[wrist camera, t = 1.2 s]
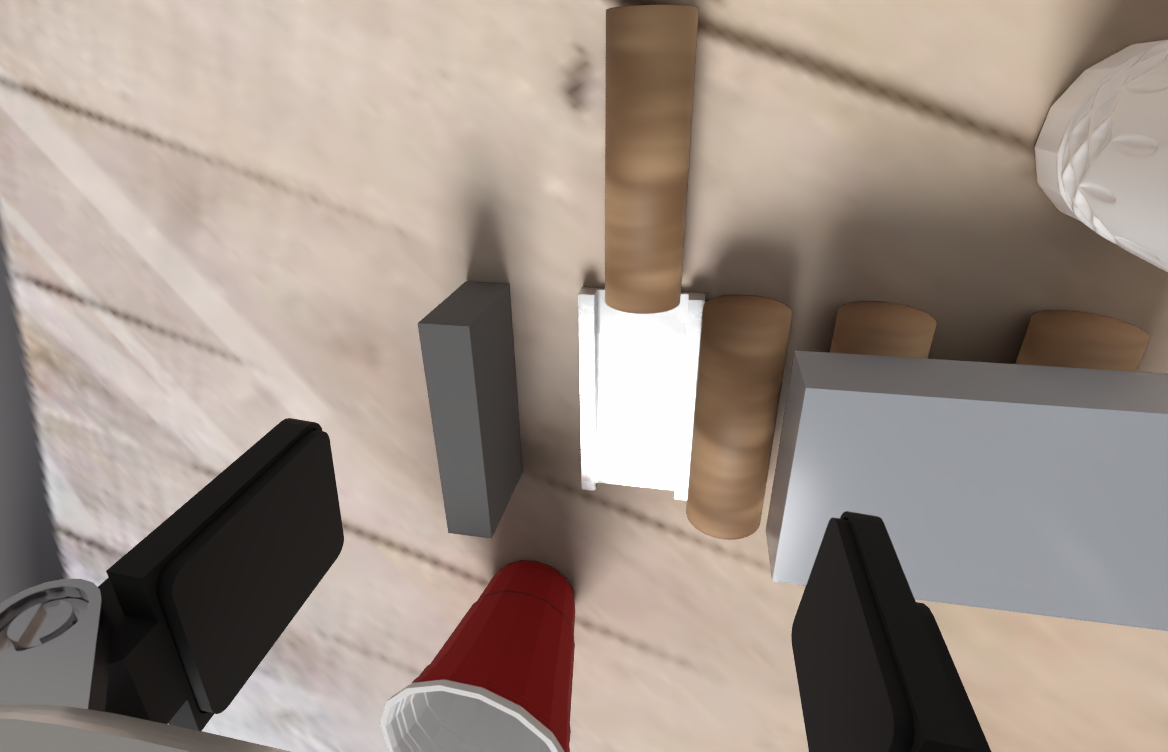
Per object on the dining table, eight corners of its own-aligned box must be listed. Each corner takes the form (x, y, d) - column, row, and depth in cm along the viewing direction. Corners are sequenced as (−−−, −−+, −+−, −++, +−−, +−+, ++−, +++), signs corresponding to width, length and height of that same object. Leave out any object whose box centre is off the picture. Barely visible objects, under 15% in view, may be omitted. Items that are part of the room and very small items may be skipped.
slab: (1224, 377, 23) (1302, 423, 20) (1123, 569, 28) (1174, 631, 25) (794, 350, 26) (805, 387, 23) (765, 529, 31) (772, 581, 27)
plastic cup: (459, 512, 39) (368, 672, 29) (621, 551, 38) (587, 732, 28) (453, 623, 45) (374, 795, 34) (595, 661, 44) (559, 849, 33)
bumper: (509, 283, 32) (469, 326, 26) (522, 471, 37) (491, 538, 32) (465, 281, 32) (417, 323, 27) (485, 467, 37) (448, 532, 32)
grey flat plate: (705, 293, 30) (705, 300, 29) (689, 488, 35) (688, 500, 34) (582, 287, 31) (578, 294, 30) (584, 477, 36) (581, 489, 35)
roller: (715, 9, 24) (665, 2, 21) (694, 298, 29) (652, 319, 27) (641, 15, 26) (587, 9, 23) (633, 283, 31) (589, 302, 29)
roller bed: (1114, 312, 27) (1174, 349, 23) (1027, 523, 32) (1066, 578, 29) (703, 293, 30) (702, 322, 26) (687, 488, 35) (684, 534, 32)
